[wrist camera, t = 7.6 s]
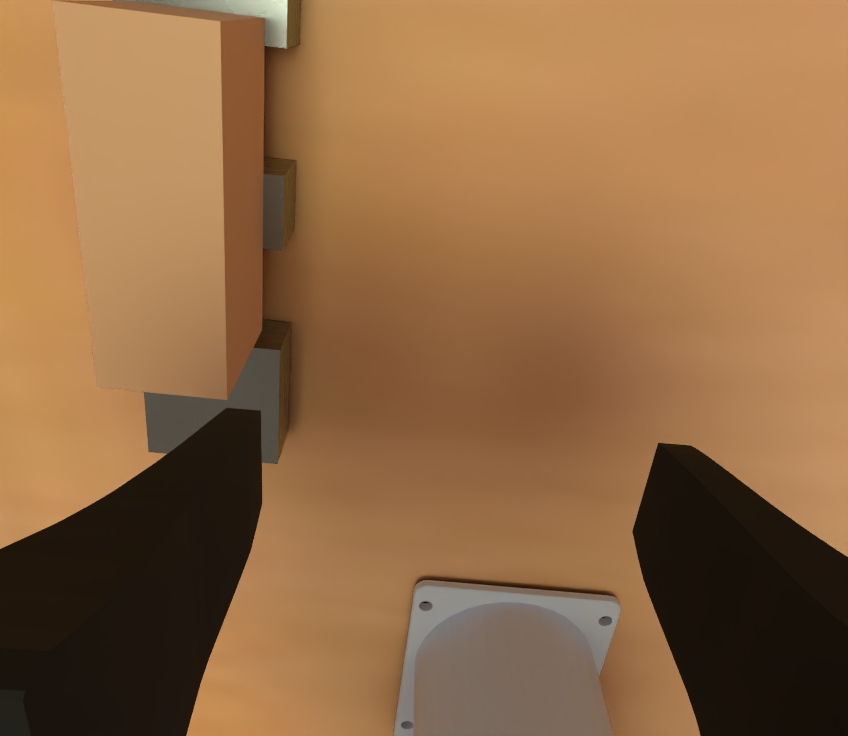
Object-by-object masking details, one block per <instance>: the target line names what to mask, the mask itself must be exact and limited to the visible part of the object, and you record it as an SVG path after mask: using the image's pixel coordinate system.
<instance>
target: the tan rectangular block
mask: <svg viewBox="0 0 848 736" xmlns="http://www.w3.org/2000/svg"><path fill="white" fill-rule="evenodd" d="M52 4H53V13H54V21H55V30H56V39H57V47H58V56H59V65H60V73H61V82H62V91H63V99H64V108H65V117H66V125H67V134H68V143H69V151H70V160H71V169H72V177H73V186H74V195H75V203H76V212H77V221H78V229H79V238H80V247H81V255H82V264H83V273H84V281H85V290H86V299H87V307H88V316H89V325H90V333H91V342H92V351H93V360H94V368H95V377H96V386H97V387H98V388H109V389H119V390H129V391H139V392H150V393H160V394H170V395H180V396H191V397H201V398H211V399H222V400H227V399H228V397H229V395H230V393H231V391H232V389H233V387H234V385H235V383H236V381H237V379H238V377H239V375H240V373H241V371H242V369H243V367H244V365H245V363H246V361H247V359H248V357H249V355H250V353H251V351H252V349H253V347H254V345H255V343H256V341H257V339H258V337H259V335H260V333H261V331H262V293H263V171H264V49H265V18H264V17H256V16H248V15H240V14H232V13H224V12H216V11H208V10H200V9H192V8H184V7H176V6H168V5H160V4H152V3H144V2H136V1H58V0H52Z"/></svg>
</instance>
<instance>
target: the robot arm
mask: <svg viewBox="0 0 848 736" xmlns="http://www.w3.org/2000/svg"><path fill="white" fill-rule="evenodd" d="M261 506H262V451H261V410H249V409H236V408H226V409H224V410H223V411H222V412H220V413H219V414H218V415H217V416H215V417H214V418H213V419H211V420H210V421H209V422H208V423H206V424H205V425H204V426H203V427H201V428H200V429H199V430H198V431H196V432H195V433H194V434H193V435H191V436H190V437H189V438H187V439H186V440H185V441H184V442H182V443H181V444H180V445H179V446H177V447H176V448H175V449H173V450H172V451H171V452H169V453H168V454H167V455H165V456H164V457H163V458H161V459H160V460H159V461H157V462H156V463H155V464H153V465H152V466H150V467H149V468H147V469H146V470H144V471H143V472H141V473H140V474H138V475H137V476H135V477H134V478H132V479H131V480H130V481H128V482H127V483H125V484H124V485H122V486H121V487H119V488H118V489H116V490H115V491H113V492H111V493H110V494H108V495H106V496H105V497H103V498H101V499H100V500H98V501H96V502H95V503H93V504H91V505H89V506H88V507H86V508H84V509H82V510H80V511H78V512H77V513H75V514H73V515H71V516H69V517H67V518H66V519H64V520H62V521H60V522H58V523H56V524H54V525H52V526H50V527H47V528H45V529H43V530H41V531H39V532H37V533H34V534H32V535H30V536H28V537H26V538H24V539H21V540H19V541H17V542H15V543H13V544H10V545H8V546H6V547H4V548H2V549H0V736H186V734H187V730H188V727H189V723H190V719H191V716H192V712H193V709H194V705H195V701H196V698H197V694H198V690H199V687H200V683H201V680H202V677H203V674H204V672H205V669H206V666H207V663H208V660H209V657H210V654H211V652H212V649H213V647H214V644H215V642H216V639H217V637H218V634H219V631H220V629H221V626H222V624H223V621H224V619H225V616H226V614H227V611H228V608H229V606H230V603H231V601H232V598H233V596H234V593H235V591H236V588H237V585H238V583H239V580H240V578H241V575H242V572H243V570H244V567H245V564H246V562H247V559H248V556H249V554H250V551H251V547H252V543H253V539H254V535H255V531H256V527H257V523H258V519H259V514H260V510H261ZM633 536H634V541H635V545H636V550H637V555H638V559H639V563H640V567H641V571H642V575H643V579H644V582H645V585H646V588H647V590H648V593H649V596H650V598H651V601H652V604H653V606H654V609H655V611H656V614H657V617H658V619H659V622H660V624H661V627H662V629H663V632H664V635H665V637H666V640H667V642H668V645H669V647H670V650H671V652H672V655H673V657H674V660H675V662H676V665H677V667H678V670H679V673H680V675H681V678H682V680H683V683H684V685H685V688H686V690H687V693H688V696H689V699H690V702H691V705H692V708H693V711H694V714H695V717H696V720H697V724H698V727H699V731H700V735H701V736H848V557H847V556H845V555H843V554H842V553H840V552H839V551H837V550H836V549H834V548H833V547H831V546H830V545H828V544H827V543H825V542H824V541H822V540H821V539H819V538H818V537H816V536H815V535H813V534H812V533H810V532H809V531H808V530H806V529H805V528H803V527H802V526H800V525H799V524H798V523H796V522H795V521H793V520H792V519H791V518H789V517H788V516H786V515H785V514H784V513H782V512H781V511H780V510H778V509H777V508H775V507H774V506H773V505H771V504H770V503H769V502H767V501H766V500H765V499H763V498H762V497H761V496H759V495H758V494H757V493H755V492H754V491H753V490H752V489H750V488H749V487H748V486H746V485H745V484H744V483H742V482H741V481H740V480H738V479H737V478H736V477H735V476H733V475H732V474H731V473H729V472H728V471H727V470H725V469H724V468H723V467H721V466H720V465H719V464H717V463H716V462H715V461H713V460H712V459H711V458H709V457H708V456H706V455H705V454H703V453H702V452H700V451H699V450H697V449H696V448H694V447H693V446H689V445H676V444H664V443H658V446H657V449H656V453H655V456H654V459H653V463H652V466H651V470H650V473H649V477H648V480H647V483H646V487H645V490H644V494H643V497H642V501H641V504H640V507H639V511H638V514H637V518H636V521H635V525H634V528H633ZM423 601H428V602H429V603H422V602H423ZM620 613H621V607H620V604H619V601H618V599H617V598H615V597H613V596H609V595H598V594H586V593H574V592H563V591H551V590H539V589H528V588H516V587H504V586H492V585H481V584H469V583H457V582H446V581H434V580H423V581H421V582H419V583H417V584H416V586H415V588H414V594H413V601H412V608H411V614H410V621H409V628H408V635H407V642H406V649H405V656H404V663H403V670H402V677H401V684H400V691H399V698H398V705H397V712H396V719H395V726H394V734H393V736H614V735H613V731H612V727H611V723H610V719H609V716H608V712H607V708H606V704H605V700H604V696H603V692H602V688H601V685H600V681H599V676H600V673H601V670H602V667H603V664H604V661H605V658H606V655H607V652H608V649H609V646H610V643H611V640H612V637H613V634H614V631H615V628H616V625H617V622H618V619H619V616H620ZM604 616H607V617H606V618H601V617H604Z"/></svg>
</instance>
